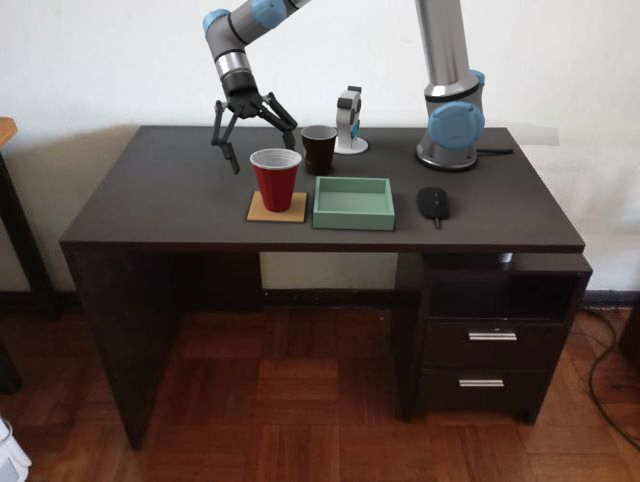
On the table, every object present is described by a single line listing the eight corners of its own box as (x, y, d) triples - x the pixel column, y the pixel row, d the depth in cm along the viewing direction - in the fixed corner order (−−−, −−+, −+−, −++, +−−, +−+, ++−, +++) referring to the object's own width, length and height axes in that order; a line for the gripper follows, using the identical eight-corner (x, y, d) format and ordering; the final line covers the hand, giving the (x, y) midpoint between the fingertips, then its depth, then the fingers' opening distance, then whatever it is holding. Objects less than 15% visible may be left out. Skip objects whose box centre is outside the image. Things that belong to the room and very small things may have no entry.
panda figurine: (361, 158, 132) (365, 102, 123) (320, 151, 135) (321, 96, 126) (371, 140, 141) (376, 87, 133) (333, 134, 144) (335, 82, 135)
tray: (387, 192, 117) (389, 178, 115) (392, 230, 105) (394, 215, 102) (316, 190, 118) (316, 176, 115) (313, 227, 105) (313, 212, 103)
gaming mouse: (423, 227, 106) (425, 211, 103) (415, 192, 118) (418, 177, 115) (453, 228, 105) (456, 212, 103) (442, 193, 118) (445, 178, 115)
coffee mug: (332, 179, 122) (333, 141, 116) (297, 175, 124) (297, 137, 118) (340, 158, 132) (341, 122, 126) (308, 155, 133) (308, 119, 127)
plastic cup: (306, 195, 115) (306, 147, 108) (296, 221, 106) (295, 170, 99) (260, 190, 116) (257, 142, 109) (246, 215, 108) (242, 164, 101)
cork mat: (306, 194, 116) (306, 192, 116) (303, 222, 106) (303, 221, 106) (254, 192, 116) (254, 191, 116) (246, 220, 107) (246, 219, 106)
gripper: (282, 79, 122) (310, 161, 120) (180, 94, 112) (209, 183, 110) (291, 63, 115) (321, 149, 113) (184, 77, 105) (214, 172, 103)
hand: (266, 166), depth 111 cm, fingers open, 13 cm apart
